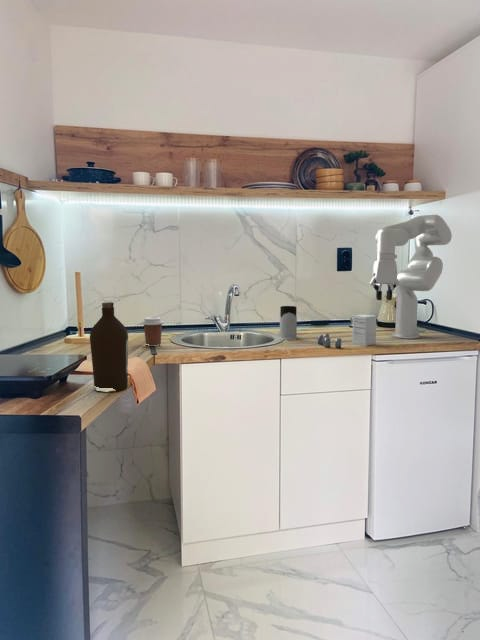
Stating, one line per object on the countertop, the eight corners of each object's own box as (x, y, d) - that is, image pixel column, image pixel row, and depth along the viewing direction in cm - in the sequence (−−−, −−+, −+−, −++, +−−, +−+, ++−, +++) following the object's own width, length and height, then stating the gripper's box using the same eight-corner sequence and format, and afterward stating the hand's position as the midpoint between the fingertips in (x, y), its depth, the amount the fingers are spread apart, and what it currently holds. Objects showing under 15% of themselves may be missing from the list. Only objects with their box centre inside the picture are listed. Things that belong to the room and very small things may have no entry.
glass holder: (279, 340, 215) (279, 307, 213) (277, 335, 229) (277, 304, 227) (298, 340, 215) (298, 307, 213) (295, 335, 229) (295, 304, 227)
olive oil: (97, 395, 129) (93, 305, 125) (88, 386, 138) (84, 302, 135) (134, 390, 134) (131, 303, 131) (123, 381, 143) (120, 300, 140)
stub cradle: (327, 342, 209) (327, 333, 208) (342, 348, 194) (342, 339, 194) (314, 342, 207) (314, 334, 207) (328, 349, 193) (328, 339, 193)
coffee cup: (141, 344, 206) (140, 317, 204) (161, 342, 209) (161, 316, 207) (144, 347, 197) (143, 319, 196) (166, 346, 200) (165, 318, 199)
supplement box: (362, 341, 210) (363, 313, 208) (376, 344, 204) (377, 315, 202) (351, 343, 205) (352, 315, 204) (365, 346, 200) (366, 316, 198)
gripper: (398, 257, 207) (396, 298, 210) (363, 257, 204) (362, 299, 206) (407, 257, 200) (406, 300, 202) (372, 257, 196) (370, 301, 199)
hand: (384, 299), depth 204 cm, fingers open, 4 cm apart
